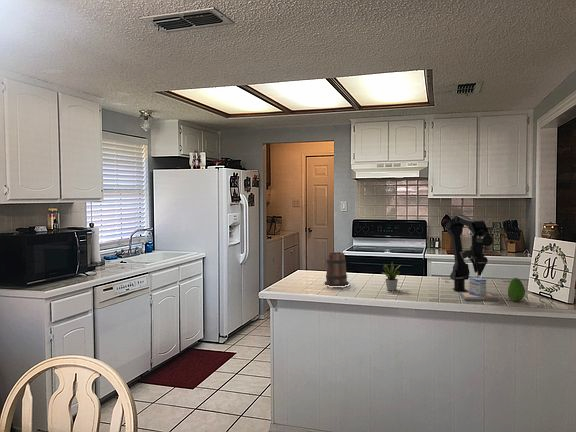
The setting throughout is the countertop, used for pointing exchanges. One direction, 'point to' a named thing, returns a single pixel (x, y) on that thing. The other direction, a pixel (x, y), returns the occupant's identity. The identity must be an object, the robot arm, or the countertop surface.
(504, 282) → the countertop surface
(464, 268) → the robot arm
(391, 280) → the house plant
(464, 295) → the mat
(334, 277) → the tankard
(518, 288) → the avocado
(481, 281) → the medicine box
